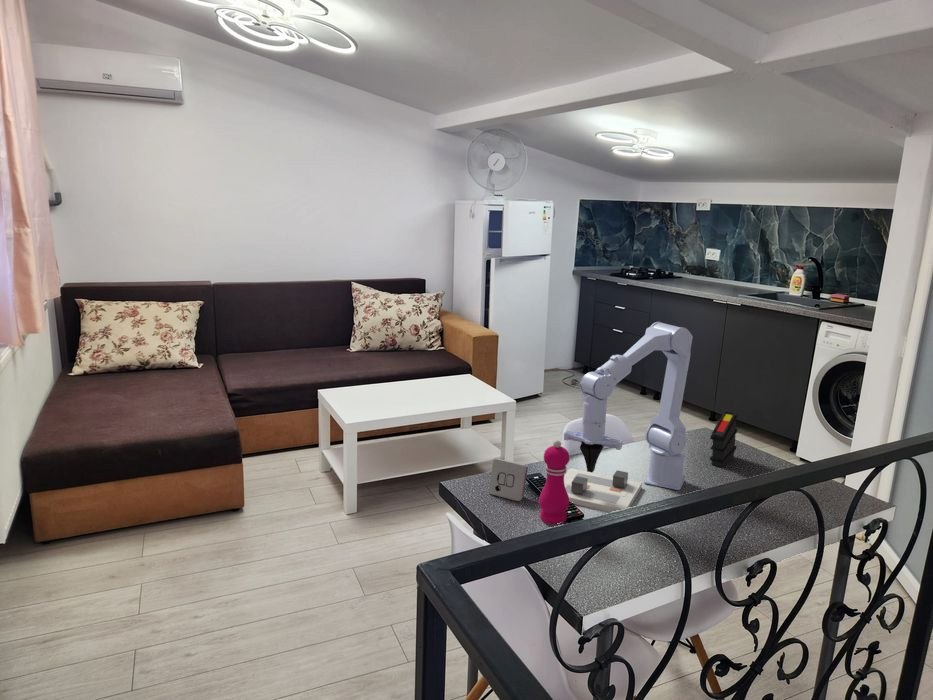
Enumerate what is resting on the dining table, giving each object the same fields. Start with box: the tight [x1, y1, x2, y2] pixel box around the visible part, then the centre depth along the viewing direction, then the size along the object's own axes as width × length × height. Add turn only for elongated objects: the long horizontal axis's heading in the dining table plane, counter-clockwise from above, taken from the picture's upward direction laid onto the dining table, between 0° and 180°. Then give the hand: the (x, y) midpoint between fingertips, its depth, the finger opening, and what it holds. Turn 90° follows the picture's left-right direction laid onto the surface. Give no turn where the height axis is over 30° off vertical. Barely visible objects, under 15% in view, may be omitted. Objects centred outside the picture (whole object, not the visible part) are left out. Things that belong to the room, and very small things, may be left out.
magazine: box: [709, 410, 739, 468], centre depth 195 cm, size 4×13×15 cm, turn 140°
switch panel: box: [564, 467, 643, 513], centre depth 173 cm, size 20×18×2 cm
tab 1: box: [571, 476, 588, 494], centre depth 170 cm, size 3×4×3 cm
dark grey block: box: [612, 469, 629, 488], centre depth 174 cm, size 3×4×3 cm
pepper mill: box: [538, 440, 570, 525], centre depth 157 cm, size 7×7×20 cm
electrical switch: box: [488, 458, 528, 502], centre depth 171 cm, size 9×5×9 cm, turn 60°
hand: (590, 470), depth 168 cm, fingers closed
